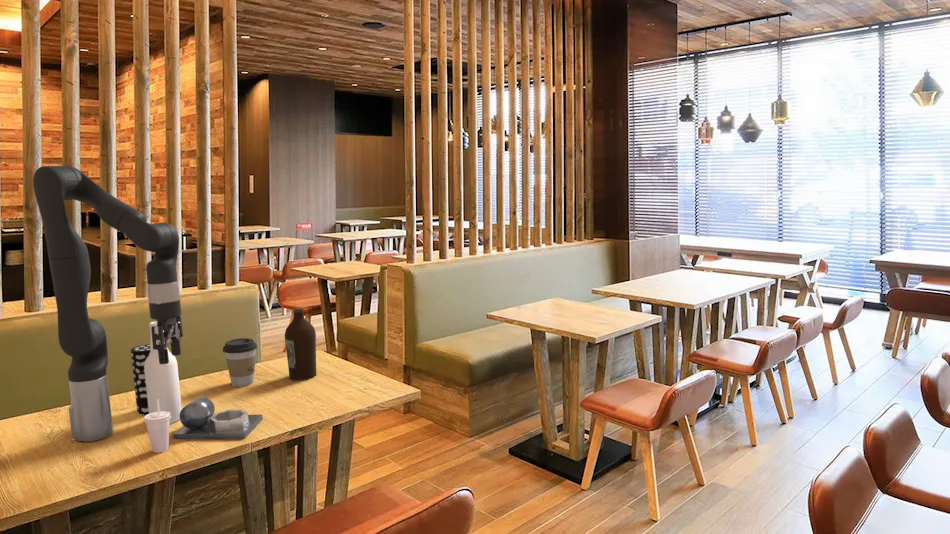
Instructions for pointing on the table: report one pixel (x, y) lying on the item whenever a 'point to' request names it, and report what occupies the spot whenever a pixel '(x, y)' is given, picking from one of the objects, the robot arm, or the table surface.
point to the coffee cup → (240, 360)
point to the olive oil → (301, 347)
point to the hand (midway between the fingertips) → (170, 359)
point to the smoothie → (158, 429)
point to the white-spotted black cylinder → (140, 377)
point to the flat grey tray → (214, 422)
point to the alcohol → (162, 383)
